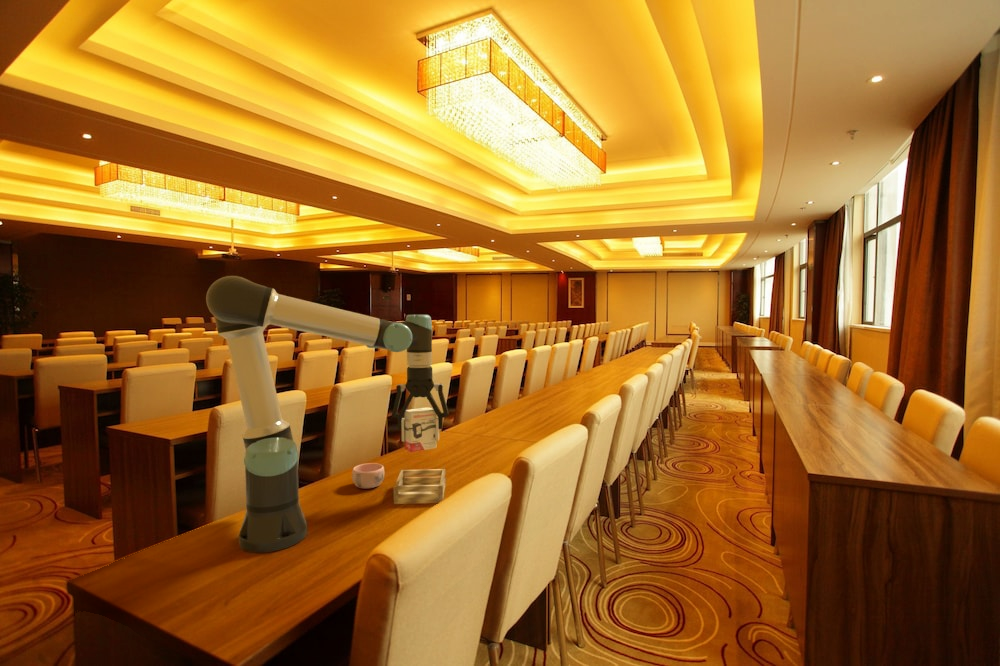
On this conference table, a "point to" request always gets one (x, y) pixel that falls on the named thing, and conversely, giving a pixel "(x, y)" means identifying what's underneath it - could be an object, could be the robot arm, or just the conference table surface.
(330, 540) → the conference table surface
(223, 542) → the conference table surface
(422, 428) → the ink box
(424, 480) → the crate
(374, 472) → the pink bowl
